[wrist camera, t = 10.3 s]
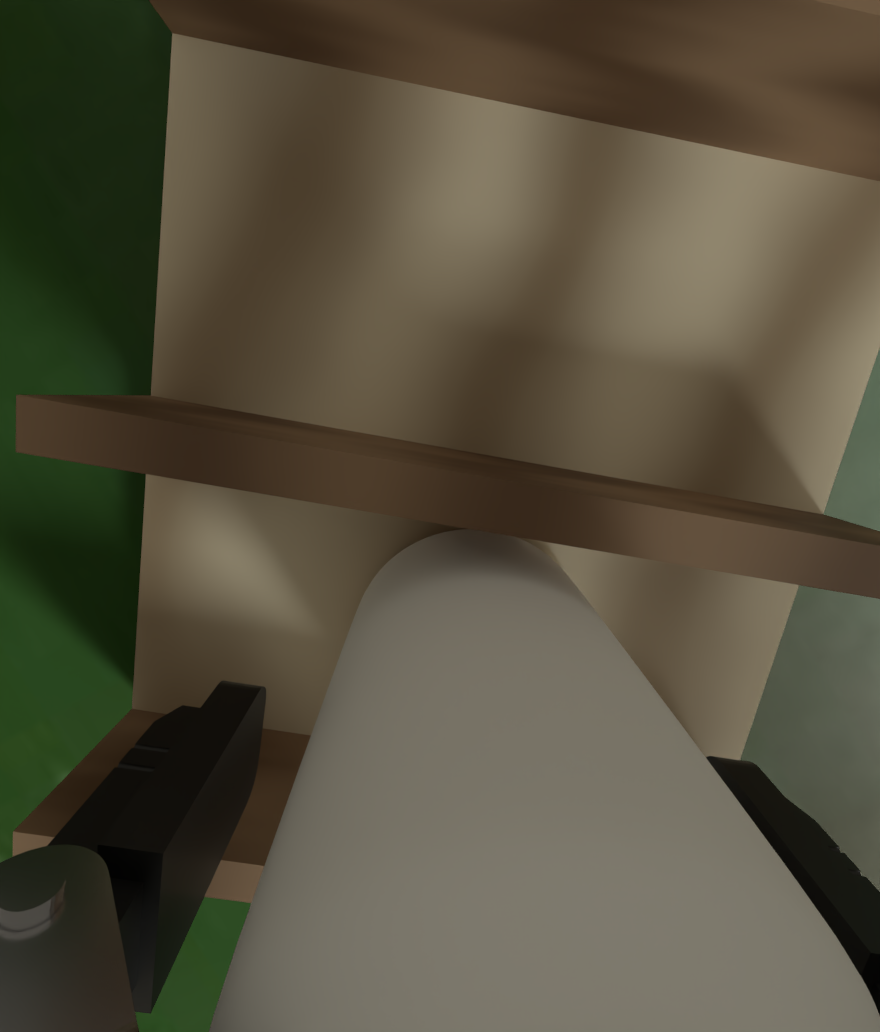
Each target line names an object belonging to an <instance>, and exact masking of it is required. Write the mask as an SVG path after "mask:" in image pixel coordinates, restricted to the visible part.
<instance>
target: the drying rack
mask: <svg viewBox="0 0 880 1032" xmlns="http://www.w3.org/2000/svg"><path fill="white" fill-rule="evenodd" d="M149 1H150V3H151V4H152V5H153V7H154V8H155V10H156V11H157V12H158V14H159V15H160V17H161V18H162V19H163V21H164V22H165V24H166V25H167V26H168V28H169V29H170V30H171V32H172V49H171V65H170V82H169V99H168V116H167V132H166V149H165V166H164V182H163V199H162V216H161V232H160V249H159V266H158V283H157V299H156V316H155V333H154V349H153V366H152V383H151V395H16V452H19V453H25V454H31V455H36V456H42V457H48V458H54V459H60V460H66V461H72V462H78V463H84V464H89V465H95V466H101V467H107V468H113V469H119V470H125V471H131V472H137V473H142V474H146V483H145V500H144V516H143V533H142V550H141V567H140V583H139V600H138V617H137V633H136V650H135V667H134V684H133V700H132V709H131V710H130V711H129V712H128V713H127V715H126V716H125V717H124V718H123V719H122V720H121V721H120V722H119V723H118V724H117V725H116V726H115V727H114V728H113V729H112V730H111V731H110V732H109V733H108V734H107V735H106V736H105V737H104V738H103V739H102V740H101V741H100V742H99V743H98V744H97V746H96V747H95V748H94V749H93V750H92V751H91V752H90V753H89V754H88V755H87V756H86V757H85V758H84V759H83V760H82V761H81V762H80V763H79V764H78V765H77V766H76V767H75V768H74V769H73V770H72V771H71V772H70V773H69V774H68V775H67V776H66V778H65V779H64V780H63V781H62V782H61V783H60V784H59V785H58V786H57V787H56V788H55V789H54V790H53V791H52V792H51V793H50V794H49V795H48V796H47V797H46V798H45V799H44V800H43V801H42V802H41V803H40V804H39V805H38V806H37V807H36V809H35V810H34V811H33V812H32V813H31V814H30V815H29V816H28V817H27V818H26V819H25V820H24V821H23V822H22V823H21V824H20V825H19V826H18V827H17V828H16V829H15V830H14V831H13V856H15V855H18V854H21V853H23V852H26V851H29V850H32V849H36V848H40V847H45V846H47V845H48V844H49V843H50V842H51V841H52V839H53V838H54V837H55V836H56V835H57V834H58V832H59V831H60V830H61V829H62V828H63V827H64V825H65V824H66V823H67V822H68V821H69V820H70V819H71V817H72V816H73V815H74V814H75V813H76V812H77V810H78V809H79V808H80V807H81V806H82V805H83V803H84V802H85V801H86V800H87V799H88V798H89V797H90V795H91V794H92V793H93V792H94V791H95V790H96V788H97V787H98V786H99V785H100V784H101V783H102V781H103V780H104V779H105V778H106V777H107V776H108V774H109V773H110V772H111V771H112V770H113V769H114V768H115V767H116V768H117V767H118V765H119V762H120V761H121V759H122V758H123V757H124V756H125V755H126V754H127V752H128V751H129V750H130V749H131V748H134V746H135V743H136V742H137V741H138V740H139V739H140V737H141V736H142V735H143V734H144V733H145V732H146V730H147V729H148V728H149V727H150V726H151V725H152V723H153V722H154V721H156V720H158V719H159V718H161V717H163V716H165V715H166V714H168V713H170V712H171V711H173V710H175V709H177V708H178V707H180V706H182V705H185V706H191V707H198V708H201V706H202V705H203V704H204V702H205V701H206V700H207V698H208V697H209V696H210V694H211V693H212V692H213V690H214V689H215V688H216V686H217V685H218V684H219V683H220V682H221V681H223V680H225V681H231V682H238V683H244V684H251V685H257V686H264V687H265V688H266V703H265V712H264V720H263V729H262V737H261V745H260V754H259V762H258V768H257V773H256V777H255V781H254V785H253V788H252V792H251V795H250V797H249V800H248V802H247V805H246V807H245V809H244V811H243V814H242V816H241V818H240V820H239V822H238V824H237V827H236V829H235V831H234V833H233V835H232V837H231V840H230V842H229V844H228V846H227V848H226V850H225V853H224V855H223V857H222V859H221V861H220V864H219V866H218V868H217V870H216V872H215V874H214V877H213V879H212V881H211V883H210V885H209V887H208V890H207V892H206V894H205V896H204V897H211V898H218V899H226V900H233V901H241V902H248V903H252V900H253V897H254V894H255V891H256V888H257V886H258V883H259V880H260V877H261V874H262V871H263V868H264V866H265V863H266V860H267V857H268V854H269V851H270V849H271V846H272V843H273V840H274V837H275V835H276V832H277V829H278V826H279V823H280V820H281V818H282V815H283V812H284V809H285V806H286V804H287V801H288V798H289V795H290V792H291V790H292V787H293V784H294V781H295V778H296V776H297V773H298V770H299V767H300V764H301V762H302V759H303V756H304V753H305V750H306V748H307V745H308V742H309V739H310V737H311V734H312V731H313V728H314V725H315V723H316V720H317V717H318V714H319V712H320V709H321V706H322V703H323V700H324V698H325V695H326V692H327V689H328V687H329V684H330V681H331V678H332V676H333V673H334V670H335V667H336V665H337V662H338V659H339V656H340V654H341V651H342V648H343V646H344V643H345V640H346V637H347V635H348V632H349V629H350V627H351V624H352V621H353V619H354V616H355V614H356V611H357V609H358V606H359V604H360V601H361V599H362V597H363V595H364V593H365V591H366V589H367V588H368V586H369V584H370V583H371V581H372V580H373V578H374V577H375V576H376V574H377V573H378V572H379V571H380V570H381V568H382V567H383V566H384V565H385V564H386V563H387V562H388V561H389V560H391V559H392V558H393V557H394V556H395V555H397V554H398V553H399V552H401V551H402V550H404V549H405V548H407V547H408V546H410V545H412V544H414V543H416V542H418V541H420V540H422V539H424V538H427V537H429V536H432V535H435V534H439V533H443V532H447V531H453V530H461V529H472V530H478V531H484V532H490V533H496V534H502V535H507V536H513V537H517V538H520V539H522V540H524V541H526V542H528V543H530V544H532V545H534V546H535V547H537V548H538V549H540V550H541V551H543V552H544V553H546V554H547V555H548V556H549V557H550V558H552V559H553V560H554V561H555V562H556V563H557V564H558V565H559V566H560V567H561V568H562V569H563V570H564V572H565V573H566V574H567V575H568V576H569V578H570V579H571V580H572V581H573V583H574V584H575V585H576V586H577V588H578V589H579V590H580V591H581V593H582V594H583V595H584V597H585V598H586V599H587V601H588V602H589V603H590V604H591V606H592V607H593V608H594V610H595V611H596V612H597V614H598V615H599V616H600V618H601V619H602V620H603V621H604V623H605V624H606V625H607V627H608V628H609V629H610V631H611V632H612V633H613V635H614V636H615V637H616V639H617V640H618V641H619V643H620V644H621V645H622V647H623V648H624V649H625V651H626V652H627V653H628V655H629V656H630V657H631V659H632V660H633V661H634V662H635V664H636V665H637V666H638V668H639V669H640V670H641V672H642V673H643V674H644V676H645V677H646V678H647V680H648V681H649V682H650V684H651V685H652V686H653V688H654V689H655V690H656V692H657V693H658V694H659V696H660V697H661V698H662V700H663V701H664V702H665V704H666V705H667V706H668V708H669V709H670V710H671V712H672V713H673V714H674V716H675V717H676V718H677V720H678V721H679V722H680V724H681V725H682V726H683V728H684V729H685V730H686V732H687V733H688V734H689V736H690V737H691V738H692V740H693V741H694V742H695V744H696V745H697V746H698V748H699V749H700V751H701V752H702V753H703V755H704V756H705V757H708V756H715V757H721V758H728V759H735V760H740V759H741V756H742V753H743V750H744V747H745V744H746V741H747V738H748V735H749V732H750V729H751V726H752V723H753V720H754V717H755V714H756V711H757V708H758V705H759V702H760V700H761V697H762V694H763V691H764V688H765V685H766V682H767V679H768V676H769V673H770V670H771V667H772V664H773V661H774V658H775V655H776V652H777V649H778V646H779V643H780V640H781V637H782V634H783V631H784V629H785V626H786V623H787V620H788V617H789V614H790V611H791V608H792V605H793V602H794V599H795V596H796V593H797V590H798V587H799V585H802V586H808V587H814V588H820V589H825V590H831V591H837V592H843V593H849V594H855V595H861V596H867V597H873V598H878V599H880V531H876V530H873V529H870V528H866V527H863V526H860V525H856V524H853V523H850V522H846V521H843V520H840V519H837V518H833V517H830V516H827V515H823V513H824V510H825V507H826V504H827V501H828V498H829V495H830V492H831V490H832V487H833V484H834V481H835V478H836V475H837V472H838V469H839V466H840V463H841V460H842V457H843V454H844V451H845V448H846V445H847V442H848V439H849V436H850V433H851V430H852V427H853V424H854V422H855V419H856V416H857V413H858V410H859V407H860V404H861V401H862V398H863V395H864V392H865V389H866V386H867V383H868V380H869V377H870V374H871V371H872V368H873V365H874V362H875V359H876V356H877V353H878V351H879V348H880V0H149Z"/></svg>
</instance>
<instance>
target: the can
mask: <svg viewBox="0 0 880 1032" xmlns="http://www.w3.org/2000/svg"><path fill="white" fill-rule="evenodd" d="M209 1032H880V1015H879V1013H878V1010H877V1008H876V1005H875V1003H874V1001H873V998H872V996H871V994H870V992H869V990H868V988H867V986H866V984H865V983H864V981H863V979H862V977H861V976H860V974H859V973H858V971H857V969H856V968H855V966H854V964H853V963H852V961H851V959H850V958H849V956H848V955H847V953H846V951H845V950H844V948H843V946H842V945H841V943H840V942H839V940H838V939H837V937H836V935H835V934H834V933H833V931H832V930H831V928H830V927H829V926H828V924H827V923H826V921H825V920H824V918H823V917H822V916H821V914H820V913H819V911H818V910H817V909H816V907H815V906H814V904H813V903H812V901H811V900H810V899H809V897H808V896H807V894H806V893H805V892H804V890H803V889H802V887H801V886H800V885H799V883H798V882H797V880H796V879H795V878H794V876H793V875H792V873H791V872H790V871H789V869H788V868H787V867H786V865H785V864H784V862H783V861H782V860H781V858H780V857H779V856H778V854H777V853H776V852H775V850H774V849H773V848H772V846H771V845H770V844H769V842H768V841H767V839H766V838H765V837H764V835H763V834H762V833H761V831H760V830H759V829H758V827H757V826H756V825H755V823H754V822H753V820H752V819H751V818H750V816H749V815H748V814H747V812H746V811H745V810H744V808H743V807H742V806H741V804H740V803H739V801H738V800H737V799H736V797H735V796H734V795H733V793H732V792H731V791H730V789H729V788H728V787H727V785H726V784H725V783H724V781H723V780H722V779H721V777H720V776H719V775H718V773H717V772H716V771H715V769H714V768H713V767H712V765H711V764H710V763H709V761H708V760H707V759H706V757H705V756H704V755H703V753H702V752H701V751H700V749H699V748H698V746H697V745H696V744H695V742H694V741H693V740H692V738H691V737H690V736H689V734H688V733H687V732H686V730H685V729H684V728H683V726H682V725H681V724H680V722H679V721H678V720H677V718H676V717H675V716H674V714H673V713H672V712H671V710H670V709H669V708H668V706H667V705H666V704H665V702H664V701H663V700H662V698H661V697H660V696H659V694H658V693H657V692H656V690H655V689H654V688H653V686H652V685H651V684H650V682H649V681H648V680H647V678H646V677H645V676H644V674H643V673H642V672H641V670H640V669H639V668H638V666H637V665H636V664H635V662H634V661H633V660H632V659H631V657H630V656H629V655H628V653H627V652H626V651H625V649H624V648H623V647H622V645H621V644H620V643H619V641H618V640H617V639H616V637H615V636H614V635H613V633H612V632H611V631H610V629H609V628H608V627H607V625H606V624H605V623H604V621H603V620H602V619H601V618H600V616H599V615H598V614H597V612H596V611H595V610H594V608H593V607H592V606H591V604H590V603H589V602H588V601H587V599H586V598H585V597H584V595H583V594H582V593H581V591H580V590H579V589H578V588H577V586H576V585H575V584H574V583H573V581H572V580H571V579H570V578H569V576H568V575H567V574H566V573H565V572H564V570H563V569H562V568H561V567H560V566H559V565H558V564H557V563H556V562H555V561H554V560H553V559H552V558H550V557H549V556H548V555H547V554H546V553H544V552H543V551H541V550H540V549H538V548H537V547H535V546H534V545H532V544H530V543H528V542H526V541H524V540H522V539H520V538H517V537H513V536H507V535H502V534H496V533H490V532H484V531H478V530H472V529H461V530H453V531H447V532H443V533H439V534H435V535H432V536H429V537H427V538H424V539H422V540H420V541H418V542H416V543H414V544H412V545H410V546H408V547H407V548H405V549H404V550H402V551H401V552H399V553H398V554H397V555H395V556H394V557H393V558H392V559H391V560H389V561H388V562H387V563H386V564H385V565H384V566H383V567H382V568H381V570H380V571H379V572H378V573H377V574H376V576H375V577H374V578H373V580H372V581H371V583H370V584H369V586H368V588H367V589H366V591H365V593H364V595H363V597H362V599H361V601H360V604H359V606H358V609H357V611H356V614H355V616H354V619H353V621H352V624H351V627H350V629H349V632H348V635H347V637H346V640H345V643H344V646H343V648H342V651H341V654H340V656H339V659H338V662H337V665H336V667H335V670H334V673H333V676H332V678H331V681H330V684H329V687H328V689H327V692H326V695H325V698H324V700H323V703H322V706H321V709H320V712H319V714H318V717H317V720H316V723H315V725H314V728H313V731H312V734H311V737H310V739H309V742H308V745H307V748H306V750H305V753H304V756H303V759H302V762H301V764H300V767H299V770H298V773H297V776H296V778H295V781H294V784H293V787H292V790H291V792H290V795H289V798H288V801H287V804H286V806H285V809H284V812H283V815H282V818H281V820H280V823H279V826H278V829H277V832H276V835H275V837H274V840H273V843H272V846H271V849H270V851H269V854H268V857H267V860H266V863H265V866H264V868H263V871H262V874H261V877H260V880H259V883H258V886H257V888H256V891H255V894H254V897H253V900H252V903H251V906H250V908H249V911H248V914H247V917H246V920H245V923H244V926H243V929H242V931H241V934H240V937H239V940H238V943H237V946H236V949H235V952H234V955H233V958H232V961H231V964H230V967H229V970H228V973H227V976H226V979H225V982H224V985H223V988H222V991H221V994H220V997H219V1000H218V1004H217V1007H216V1010H215V1013H214V1016H213V1019H212V1023H211V1027H210V1030H209Z"/></svg>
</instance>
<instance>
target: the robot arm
mask: <svg viewBox="0 0 880 1032" xmlns="http://www.w3.org/2000/svg"><path fill="white" fill-rule="evenodd" d="M265 703H266V688H265V687H264V686H257V685H251V684H244V683H238V682H231V681H225V680H223V681H221V682H220V683H219V684H218V685H217V686H216V688H215V689H214V690H213V692H212V693H211V694H210V696H209V697H208V698H207V700H206V701H205V702H204V704H203V705H202V706H201V708H198V707H191V706H185V705H182V706H180V707H178V708H177V709H175V710H173V711H171V712H170V713H168V714H166V715H165V716H163V717H161V718H159V719H158V720H156V721H154V722H153V723H152V725H151V726H150V727H149V728H148V729H147V730H146V732H145V733H144V734H143V735H142V736H141V737H140V739H139V740H138V741H137V742H136V743H135V746H134V748H131V749H130V750H129V751H128V752H127V754H126V755H125V756H124V757H123V758H122V759H121V761H120V762H119V765H118V767H117V768H116V767H115V768H114V769H113V770H112V771H111V772H110V773H109V774H108V776H107V777H106V778H105V779H104V780H103V781H102V783H101V784H100V785H99V786H98V787H97V788H96V790H95V791H94V792H93V793H92V794H91V795H90V797H89V798H88V799H87V800H86V801H85V802H84V803H83V805H82V806H81V807H80V808H79V809H78V810H77V812H76V813H75V814H74V815H73V816H72V817H71V819H70V820H69V821H68V822H67V823H66V824H65V825H64V827H63V828H62V829H61V830H60V831H59V832H58V834H57V835H56V836H55V837H54V838H53V839H52V841H51V842H50V843H49V844H48V845H47V846H45V847H40V848H36V849H32V850H29V851H26V852H23V853H21V854H18V855H15V856H13V857H11V858H9V859H7V860H5V861H3V862H1V863H0V1032H139V1029H138V1025H137V1020H136V1015H135V1012H143V1013H151V1011H152V1009H153V1007H154V1005H155V1003H156V1001H157V998H158V996H159V994H160V992H161V990H162V987H163V985H164V983H165V981H166V979H167V977H168V974H169V972H170V970H171V968H172V966H173V964H174V961H175V959H176V957H177V955H178V953H179V951H180V948H181V946H182V944H183V942H184V940H185V937H186V935H187V933H188V931H189V929H190V927H191V924H192V922H193V920H194V918H195V916H196V914H197V911H198V909H199V907H200V905H201V903H202V900H203V898H204V896H205V894H206V892H207V890H208V887H209V885H210V883H211V881H212V879H213V877H214V874H215V872H216V870H217V868H218V866H219V864H220V861H221V859H222V857H223V855H224V853H225V850H226V848H227V846H228V844H229V842H230V840H231V837H232V835H233V833H234V831H235V829H236V827H237V824H238V822H239V820H240V818H241V816H242V814H243V811H244V809H245V807H246V805H247V802H248V800H249V797H250V795H251V792H252V788H253V785H254V781H255V777H256V773H257V768H258V762H259V754H260V745H261V737H262V729H263V720H264V712H265ZM706 759H707V760H708V761H709V763H710V764H711V765H712V767H713V768H714V769H715V771H716V772H717V773H718V775H719V776H720V777H721V779H722V780H723V781H724V783H725V784H726V785H727V787H728V788H729V789H730V791H731V792H732V793H733V795H734V796H735V797H736V799H737V800H738V801H739V803H740V804H741V806H742V807H743V808H744V810H745V811H746V812H747V814H748V815H749V816H750V818H751V819H752V820H753V822H754V823H755V825H756V826H757V827H758V829H759V830H760V831H761V833H762V834H763V835H764V837H765V838H766V839H767V841H768V842H769V844H770V845H771V846H772V848H773V849H774V850H775V852H776V853H777V854H778V856H779V857H780V858H781V860H782V861H783V862H784V864H785V865H786V867H787V868H788V869H789V871H790V872H791V873H792V875H793V876H794V878H795V879H796V880H797V882H798V883H799V885H800V886H801V887H802V889H803V890H804V892H805V893H806V894H807V896H808V897H809V899H810V900H811V901H812V903H813V904H814V906H815V907H816V909H817V910H818V911H819V913H820V914H821V916H822V917H823V918H824V920H825V921H826V923H827V924H828V926H829V927H830V928H831V930H832V931H833V933H834V934H835V935H836V937H837V939H838V940H839V942H840V943H841V945H842V946H843V948H844V950H845V951H846V953H847V955H848V956H849V958H850V959H851V961H852V963H853V964H854V966H855V968H856V969H857V971H858V973H859V974H860V976H861V977H862V979H863V981H864V983H865V984H866V986H867V988H868V990H869V992H870V994H871V996H872V998H873V1001H874V1003H875V1005H876V1008H877V1010H878V1013H879V1015H880V892H879V891H878V890H877V889H876V888H875V887H874V885H873V884H872V883H871V882H870V881H869V880H868V879H867V878H866V877H863V876H861V874H860V870H859V869H858V868H857V867H856V865H855V864H854V863H853V862H852V861H851V860H850V859H849V858H848V857H847V855H846V854H845V853H840V850H839V847H838V845H837V844H836V843H835V842H834V841H833V840H832V839H831V838H830V837H829V835H828V834H827V833H826V832H825V831H824V830H823V829H822V828H821V827H820V825H819V824H818V823H817V822H816V821H815V820H814V819H812V818H811V817H810V816H808V815H807V814H806V813H805V812H803V811H802V810H801V809H799V808H798V807H797V806H795V805H794V804H793V803H792V802H790V801H789V800H788V799H786V798H785V797H784V796H783V794H782V793H781V792H780V791H779V790H778V789H777V788H776V786H775V785H774V784H773V783H772V782H771V781H770V780H769V778H768V777H767V776H766V775H765V774H764V773H763V772H762V771H761V769H760V768H759V767H758V766H757V765H755V764H754V763H752V762H748V761H741V760H735V759H728V758H721V757H715V756H708V757H706Z"/></svg>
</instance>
